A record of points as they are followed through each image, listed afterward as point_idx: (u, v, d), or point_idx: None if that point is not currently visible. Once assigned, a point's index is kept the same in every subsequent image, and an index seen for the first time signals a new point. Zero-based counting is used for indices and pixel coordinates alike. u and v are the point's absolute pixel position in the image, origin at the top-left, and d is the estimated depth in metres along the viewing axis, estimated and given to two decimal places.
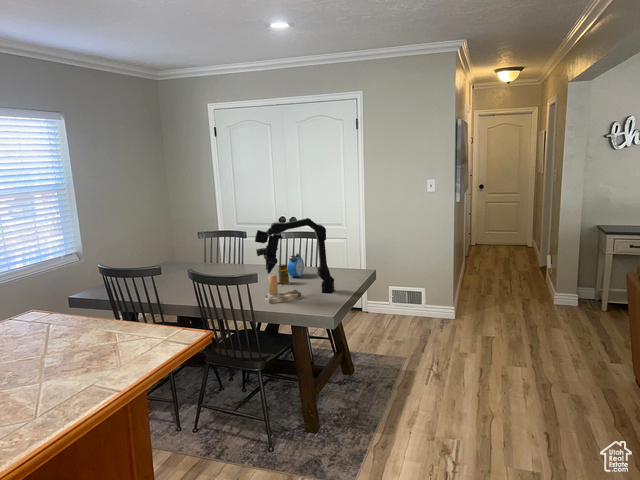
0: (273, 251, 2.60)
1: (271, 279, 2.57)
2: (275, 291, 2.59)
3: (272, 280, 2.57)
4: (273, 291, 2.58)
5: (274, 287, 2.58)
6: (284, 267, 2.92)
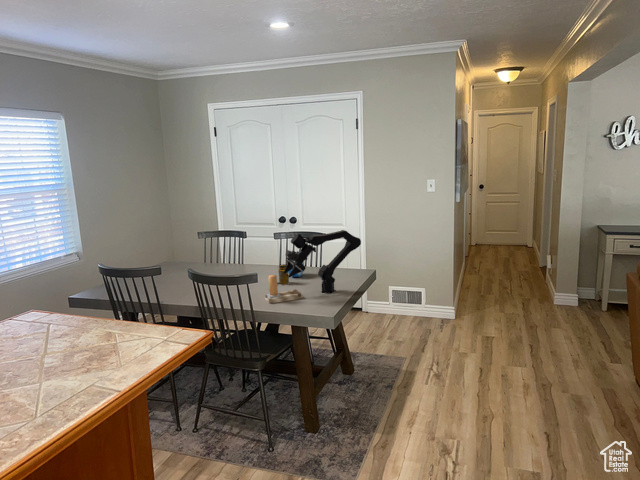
0: (302, 259, 2.61)
1: (271, 279, 2.57)
2: (275, 291, 2.59)
3: (272, 280, 2.57)
4: (273, 291, 2.58)
5: (274, 287, 2.58)
6: (284, 267, 2.92)
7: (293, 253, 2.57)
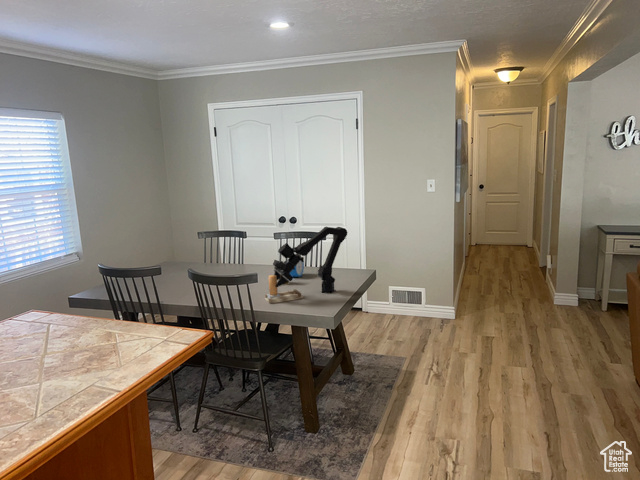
0: (290, 269, 2.59)
1: (271, 279, 2.57)
2: (275, 291, 2.59)
3: (272, 280, 2.57)
4: (273, 291, 2.58)
5: (274, 287, 2.58)
6: None
7: (280, 263, 2.55)
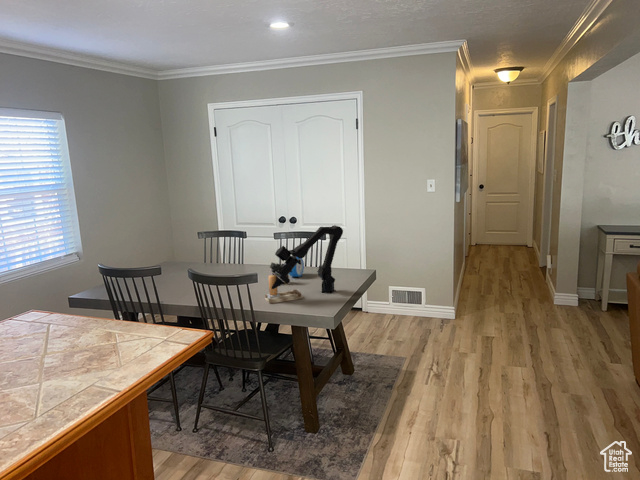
0: (287, 272, 2.59)
1: (271, 279, 2.57)
2: (275, 291, 2.59)
3: (272, 280, 2.57)
4: (273, 291, 2.58)
5: None
6: None
7: (277, 266, 2.55)
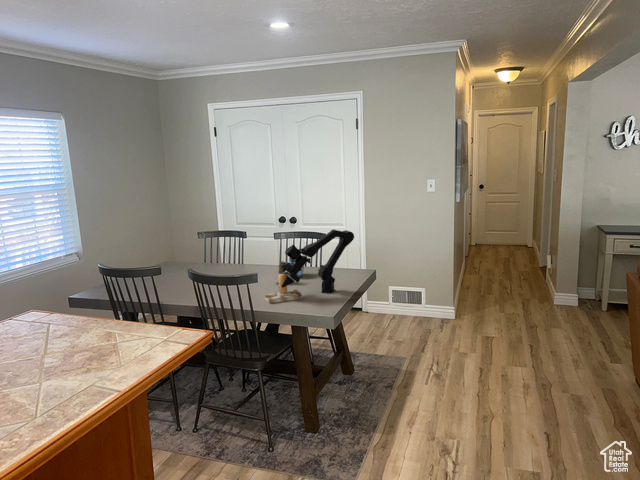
0: (297, 270, 2.61)
1: (281, 278, 2.59)
2: (285, 290, 2.61)
3: (282, 279, 2.59)
4: (283, 289, 2.60)
5: None
6: None
7: (287, 264, 2.57)
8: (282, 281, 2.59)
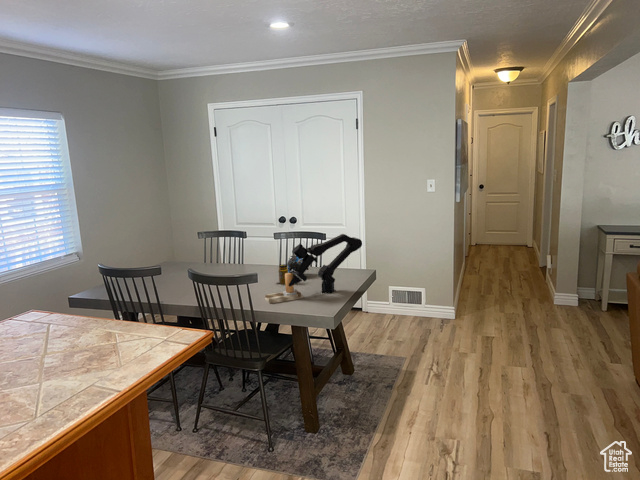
0: (304, 269, 2.62)
1: (287, 277, 2.60)
2: (291, 289, 2.62)
3: (288, 278, 2.60)
4: (290, 288, 2.62)
5: None
6: (284, 267, 2.92)
7: (294, 263, 2.58)
8: (289, 280, 2.61)
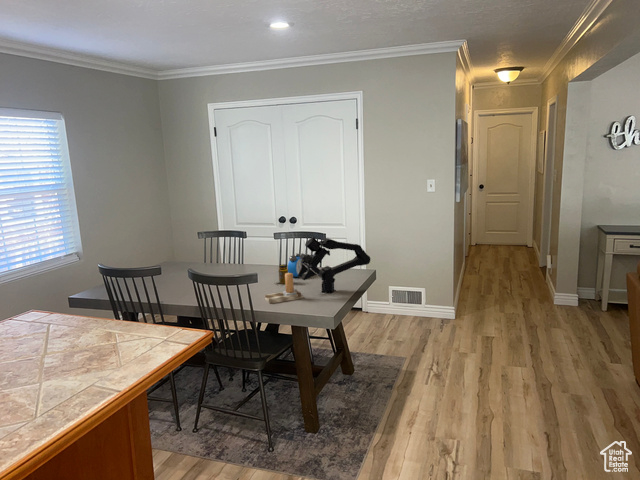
0: (316, 262, 2.65)
1: (287, 277, 2.60)
2: (291, 289, 2.62)
3: (288, 278, 2.60)
4: (290, 288, 2.62)
5: (290, 285, 2.61)
6: (284, 267, 2.92)
7: (308, 256, 2.61)
8: (289, 280, 2.61)
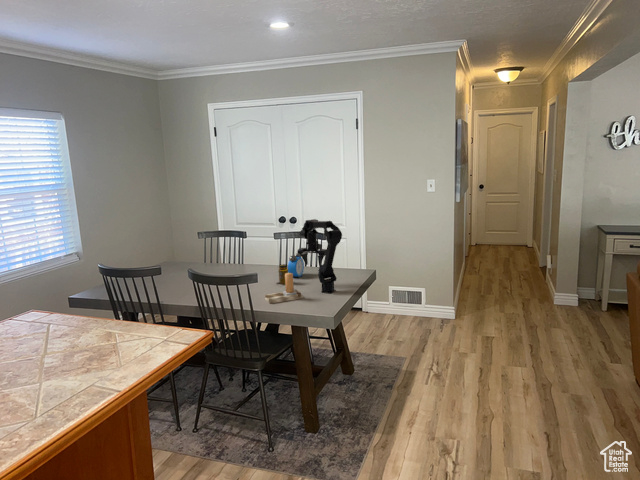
0: None
1: (287, 277, 2.60)
2: (291, 289, 2.62)
3: (288, 278, 2.60)
4: (290, 288, 2.62)
5: (290, 285, 2.61)
6: (284, 267, 2.92)
7: None
8: (289, 280, 2.61)
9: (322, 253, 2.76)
